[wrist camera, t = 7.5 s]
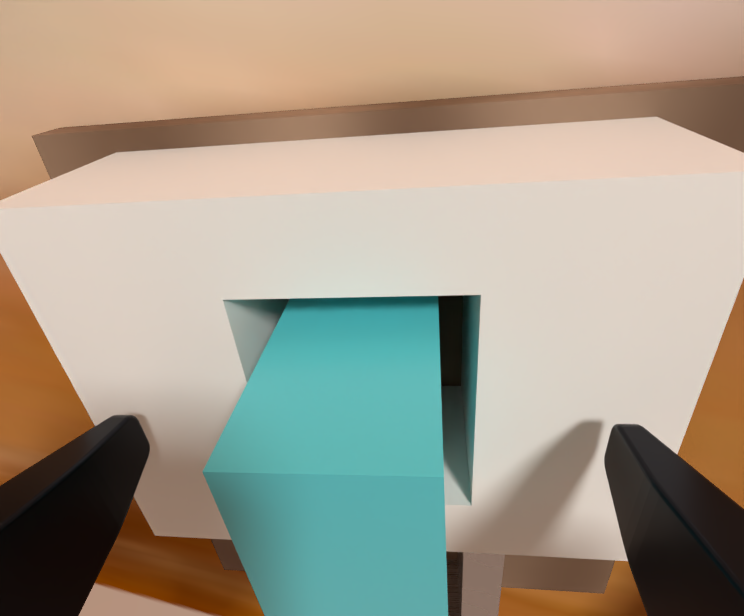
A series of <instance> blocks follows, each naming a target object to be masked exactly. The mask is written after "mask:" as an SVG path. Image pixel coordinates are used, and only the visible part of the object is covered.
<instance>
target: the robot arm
mask: <svg viewBox="0 0 744 616" xmlns="http://www.w3.org/2000/svg"><path fill="white" fill-rule="evenodd" d="M149 452H150V444H149V441H148V439H147V437H146V435H145V433H144V431H143V428H142V426H141V424H140V422H139V420H138V419H137V418H136V417H135V416H133V415H113V416H111V417H109V418H108V419H106V420H104V421H103V422H101V423H100V424H98V425H97V426H95V427H93V428H92V429H90V430H89V431H87V432H85V433H84V434H82V435H81V436H79V437H77V438H76V439H74V440H73V441H71V442H69V443H68V444H66V445H65V446H63V447H61V448H60V449H58V450H57V451H55V452H53V453H52V454H50V455H49V456H47V457H46V458H44V459H42V460H41V461H39V462H38V463H36V464H34V465H33V466H31V467H30V468H28V469H26V470H25V471H23V472H22V473H20V474H18V475H17V476H15V477H14V478H12V479H10V480H9V481H7V482H6V483H4V484H2V485H1V486H0V616H78V615H79V613H80V611H81V609H82V607H83V605H84V603H85V601H86V599H87V597H88V595H89V593H90V591H91V589H92V587H93V585H94V583H95V581H96V579H97V577H98V575H99V573H100V571H101V569H102V567H103V565H104V563H105V560H106V558H107V556H108V554H109V552H110V550H111V548H112V546H113V544H114V542H115V540H116V538H117V536H118V534H119V531H120V529H121V527H122V524H123V522H124V520H125V517H126V515H127V512H128V509H129V507H130V504H131V501H132V499H133V496H134V494H135V491H136V488H137V486H138V483H139V480H140V478H141V475H142V472H143V470H144V467H145V465H146V462H147V459H148V457H149ZM604 465H605V471H606V475H607V479H608V483H609V488H610V492H611V496H612V500H613V504H614V508H615V512H616V516H617V521H618V525H619V529H620V533H621V537H622V541H623V545H624V549H625V552H626V556H627V559H628V562H629V565H630V568H631V571H632V574H633V577H634V579H635V582H636V585H637V588H638V590H639V593H640V596H641V599H642V602H643V604H644V607H645V610H646V613H647V615H648V616H744V509H743V508H742V507H741V506H739V505H738V504H737V503H736V502H734V501H733V500H732V499H731V498H730V497H728V496H727V495H726V494H725V493H723V492H722V491H721V490H720V489H719V488H717V487H716V486H715V485H714V484H712V483H711V482H710V481H709V480H708V479H706V478H705V477H704V476H703V475H701V474H700V473H699V472H698V471H697V470H695V469H694V468H693V467H692V466H690V465H689V464H688V463H687V462H686V461H684V460H683V459H682V458H681V457H680V456H678V455H677V454H676V453H675V452H673V451H672V450H671V449H670V448H669V447H667V446H666V445H665V444H664V443H662V442H661V441H660V440H659V439H658V438H656V437H655V436H654V435H653V434H651V433H650V432H649V431H648V430H647V429H645V428H644V427H643V426H641V425H638V424H615V425H614V426H613V427H612V429H611V432H610V436H609V440H608V444H607V448H606V452H605V456H604Z"/></svg>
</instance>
